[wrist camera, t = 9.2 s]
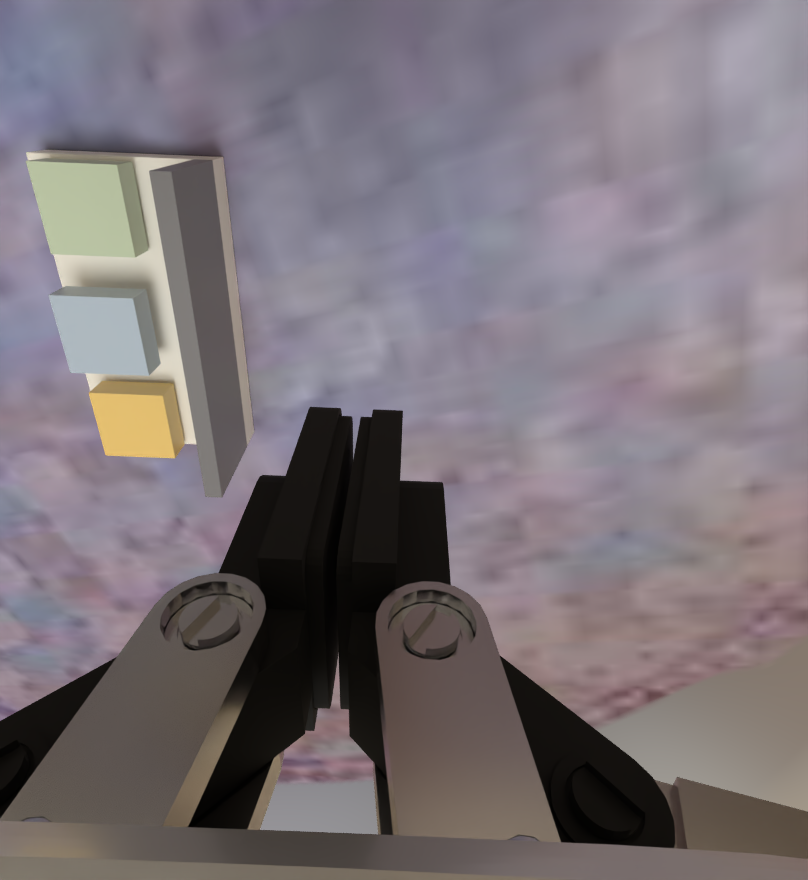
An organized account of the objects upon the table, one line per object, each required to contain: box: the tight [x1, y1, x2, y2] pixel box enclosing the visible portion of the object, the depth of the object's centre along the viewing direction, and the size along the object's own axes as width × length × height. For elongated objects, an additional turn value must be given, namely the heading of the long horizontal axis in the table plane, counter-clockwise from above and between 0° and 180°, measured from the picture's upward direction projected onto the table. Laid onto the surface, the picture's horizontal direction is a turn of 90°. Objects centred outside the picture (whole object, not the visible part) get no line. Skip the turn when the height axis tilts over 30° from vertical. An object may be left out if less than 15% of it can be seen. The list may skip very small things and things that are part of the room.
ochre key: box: [89, 381, 185, 458], centre depth 37 cm, size 5×5×2 cm
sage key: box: [26, 158, 148, 258], centre depth 31 cm, size 5×5×2 cm
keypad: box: [26, 150, 254, 497], centre depth 34 cm, size 18×10×8 cm, turn 178°
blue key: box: [49, 286, 161, 376], centre depth 33 cm, size 5×5×2 cm
